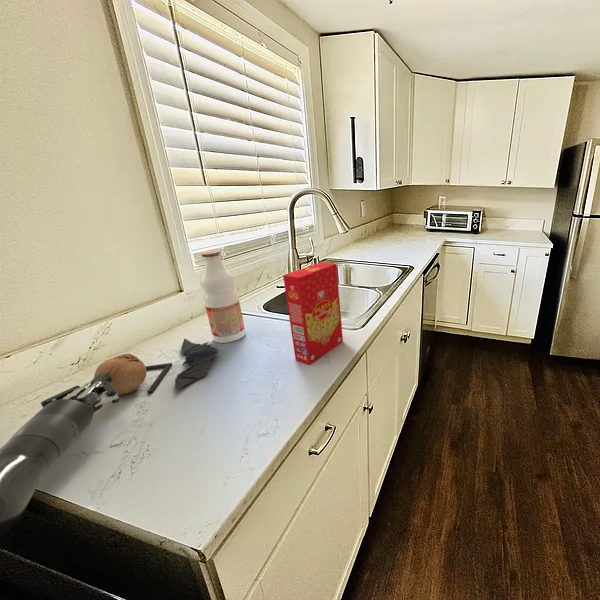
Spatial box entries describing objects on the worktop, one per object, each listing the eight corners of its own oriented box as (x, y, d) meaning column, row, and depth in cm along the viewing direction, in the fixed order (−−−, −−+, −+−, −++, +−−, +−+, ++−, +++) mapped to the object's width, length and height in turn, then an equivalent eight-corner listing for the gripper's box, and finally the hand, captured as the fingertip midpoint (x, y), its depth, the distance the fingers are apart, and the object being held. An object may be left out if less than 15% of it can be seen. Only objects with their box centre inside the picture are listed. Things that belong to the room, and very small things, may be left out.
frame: (82, 404, 75) (81, 401, 74) (112, 373, 86) (111, 370, 86) (152, 393, 78) (151, 390, 78) (172, 365, 90) (171, 362, 89)
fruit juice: (232, 345, 100) (212, 256, 90) (206, 342, 102) (184, 254, 92) (252, 331, 108) (235, 248, 98) (228, 329, 111) (209, 247, 101)
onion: (146, 392, 83) (157, 354, 84) (129, 403, 74) (142, 360, 75) (101, 387, 80) (113, 347, 81) (78, 397, 71) (92, 352, 72)
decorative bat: (216, 368, 80) (169, 383, 76) (221, 382, 81) (175, 397, 77) (216, 323, 104) (180, 333, 100) (220, 335, 106) (184, 344, 102)
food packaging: (309, 365, 89) (298, 277, 80) (295, 360, 91) (283, 275, 82) (342, 342, 101) (336, 263, 92) (329, 338, 103) (322, 261, 94)
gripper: (88, 407, 57) (134, 357, 73) (-7, 422, 54) (63, 366, 70) (103, 440, 60) (145, 385, 76) (14, 456, 57) (76, 395, 72)
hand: (105, 376), depth 73 cm, fingers closed
